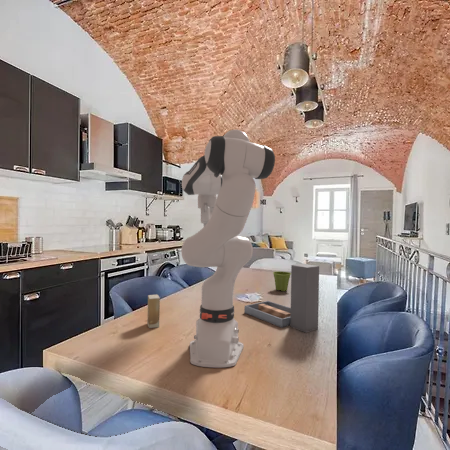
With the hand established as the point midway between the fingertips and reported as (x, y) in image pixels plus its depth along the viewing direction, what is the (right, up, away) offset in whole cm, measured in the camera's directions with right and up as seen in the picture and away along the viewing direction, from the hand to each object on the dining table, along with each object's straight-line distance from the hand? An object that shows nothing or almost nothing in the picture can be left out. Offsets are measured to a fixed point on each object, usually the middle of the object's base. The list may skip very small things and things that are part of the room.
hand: (207, 234), depth 136 cm
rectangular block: (+31, -38, +1) cm, 49 cm away
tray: (+31, -39, 0) cm, 49 cm away
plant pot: (+45, -39, +55) cm, 80 cm away
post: (+41, -39, -13) cm, 58 cm away
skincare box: (-22, -38, -14) cm, 46 cm away
